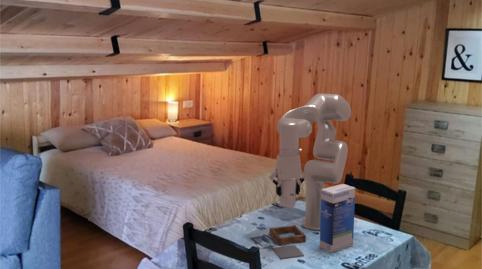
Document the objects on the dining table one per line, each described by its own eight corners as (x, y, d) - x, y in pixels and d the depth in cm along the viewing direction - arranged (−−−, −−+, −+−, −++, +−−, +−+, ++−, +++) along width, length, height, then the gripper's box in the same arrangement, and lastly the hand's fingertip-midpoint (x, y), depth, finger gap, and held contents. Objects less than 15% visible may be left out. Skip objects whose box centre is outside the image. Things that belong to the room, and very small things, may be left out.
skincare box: (279, 206, 197) (279, 177, 195) (281, 203, 202) (282, 175, 199) (293, 208, 195) (294, 179, 193) (296, 204, 200) (296, 176, 197)
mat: (294, 246, 206) (294, 245, 206) (303, 256, 196) (303, 254, 196) (272, 249, 203) (272, 247, 203) (280, 259, 194) (280, 258, 194)
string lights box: (341, 239, 212) (343, 183, 207) (354, 245, 206) (356, 187, 201) (318, 247, 205) (320, 188, 200) (331, 253, 199) (333, 193, 194)
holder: (295, 231, 222) (295, 225, 221) (305, 242, 210) (305, 235, 209) (269, 234, 218) (269, 228, 218) (278, 245, 207) (278, 238, 206)
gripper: (305, 149, 200) (304, 190, 203) (265, 151, 196) (264, 193, 199) (312, 153, 193) (311, 195, 196) (271, 155, 189) (270, 198, 192)
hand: (287, 194), depth 198 cm, fingers closed on skincare box, 7 cm apart
